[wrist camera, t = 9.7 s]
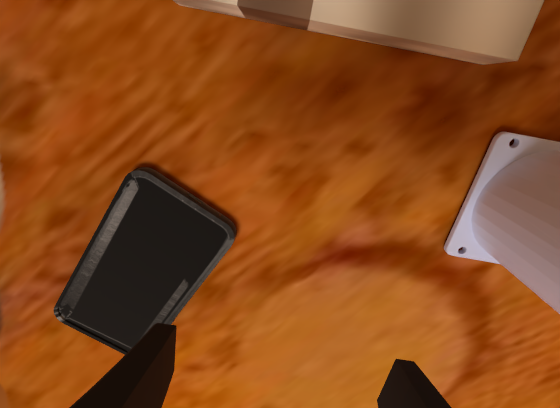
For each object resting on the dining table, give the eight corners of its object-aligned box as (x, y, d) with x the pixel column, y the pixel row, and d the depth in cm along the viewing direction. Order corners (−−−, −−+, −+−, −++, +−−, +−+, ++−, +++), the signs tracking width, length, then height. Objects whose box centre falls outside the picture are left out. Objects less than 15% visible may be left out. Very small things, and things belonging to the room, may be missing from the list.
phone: (49, 316, 22) (132, 162, 17) (60, 305, 23) (141, 158, 18) (141, 363, 24) (242, 234, 19) (148, 351, 25) (245, 226, 20)
